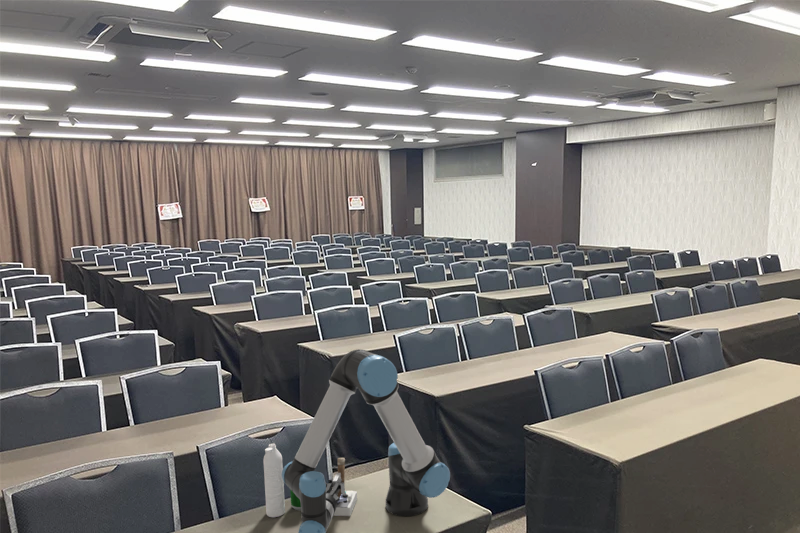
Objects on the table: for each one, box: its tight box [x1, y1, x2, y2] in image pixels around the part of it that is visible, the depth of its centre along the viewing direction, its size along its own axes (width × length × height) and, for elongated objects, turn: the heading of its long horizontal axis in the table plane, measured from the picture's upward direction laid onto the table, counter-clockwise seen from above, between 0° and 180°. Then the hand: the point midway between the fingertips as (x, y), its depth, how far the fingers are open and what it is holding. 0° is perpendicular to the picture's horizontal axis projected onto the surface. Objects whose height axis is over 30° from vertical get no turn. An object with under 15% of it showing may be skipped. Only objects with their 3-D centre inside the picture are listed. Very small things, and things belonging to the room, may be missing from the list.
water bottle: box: [262, 442, 286, 518], centre depth 199 cm, size 9×6×25 cm
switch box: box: [333, 490, 358, 517], centre depth 203 cm, size 9×12×5 cm
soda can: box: [289, 489, 301, 512], centre depth 204 cm, size 8×8×12 cm
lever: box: [337, 457, 348, 498], centre depth 204 cm, size 5×3×14 cm, turn 83°
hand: (338, 476), depth 202 cm, fingers closed
